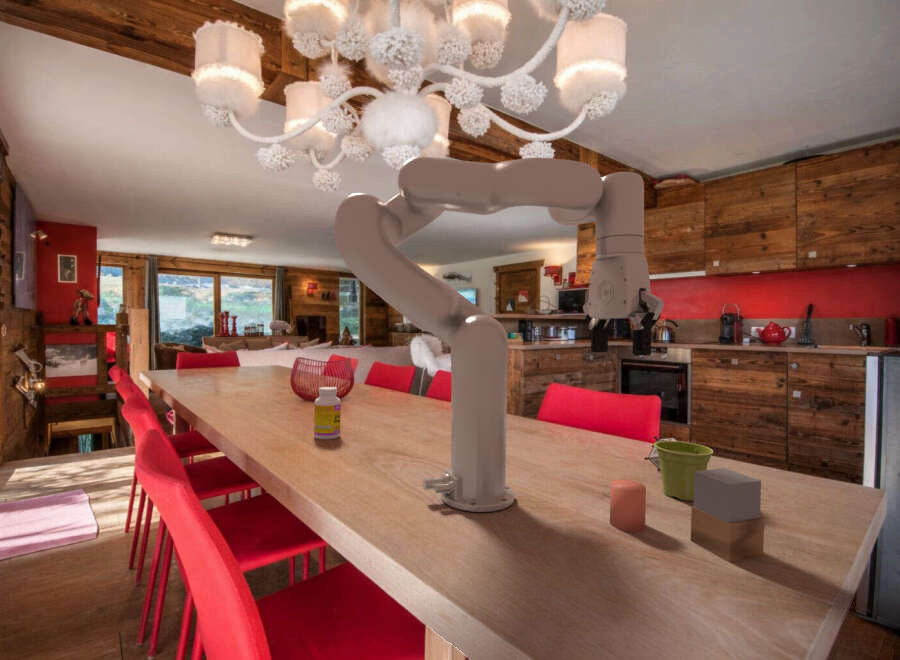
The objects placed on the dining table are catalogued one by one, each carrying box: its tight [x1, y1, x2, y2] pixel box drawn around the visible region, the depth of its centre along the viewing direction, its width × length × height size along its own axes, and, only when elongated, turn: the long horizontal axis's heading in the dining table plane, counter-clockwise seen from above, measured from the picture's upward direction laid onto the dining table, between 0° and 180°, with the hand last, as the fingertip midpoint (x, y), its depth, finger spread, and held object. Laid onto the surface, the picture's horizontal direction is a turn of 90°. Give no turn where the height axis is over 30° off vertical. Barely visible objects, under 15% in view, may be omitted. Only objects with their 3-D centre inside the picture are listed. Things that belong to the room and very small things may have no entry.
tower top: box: [693, 467, 762, 523], centre depth 61 cm, size 6×6×5 cm
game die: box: [643, 434, 683, 472], centre depth 91 cm, size 9×8×10 cm
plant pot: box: [653, 440, 714, 502], centre depth 81 cm, size 9×9×9 cm
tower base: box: [690, 505, 765, 563], centre depth 61 cm, size 6×6×5 cm
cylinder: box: [609, 479, 647, 533], centre depth 68 cm, size 5×5×6 cm
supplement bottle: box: [313, 386, 342, 440], centre depth 118 cm, size 7×7×13 cm
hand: (619, 353), depth 75 cm, fingers open, 9 cm apart
